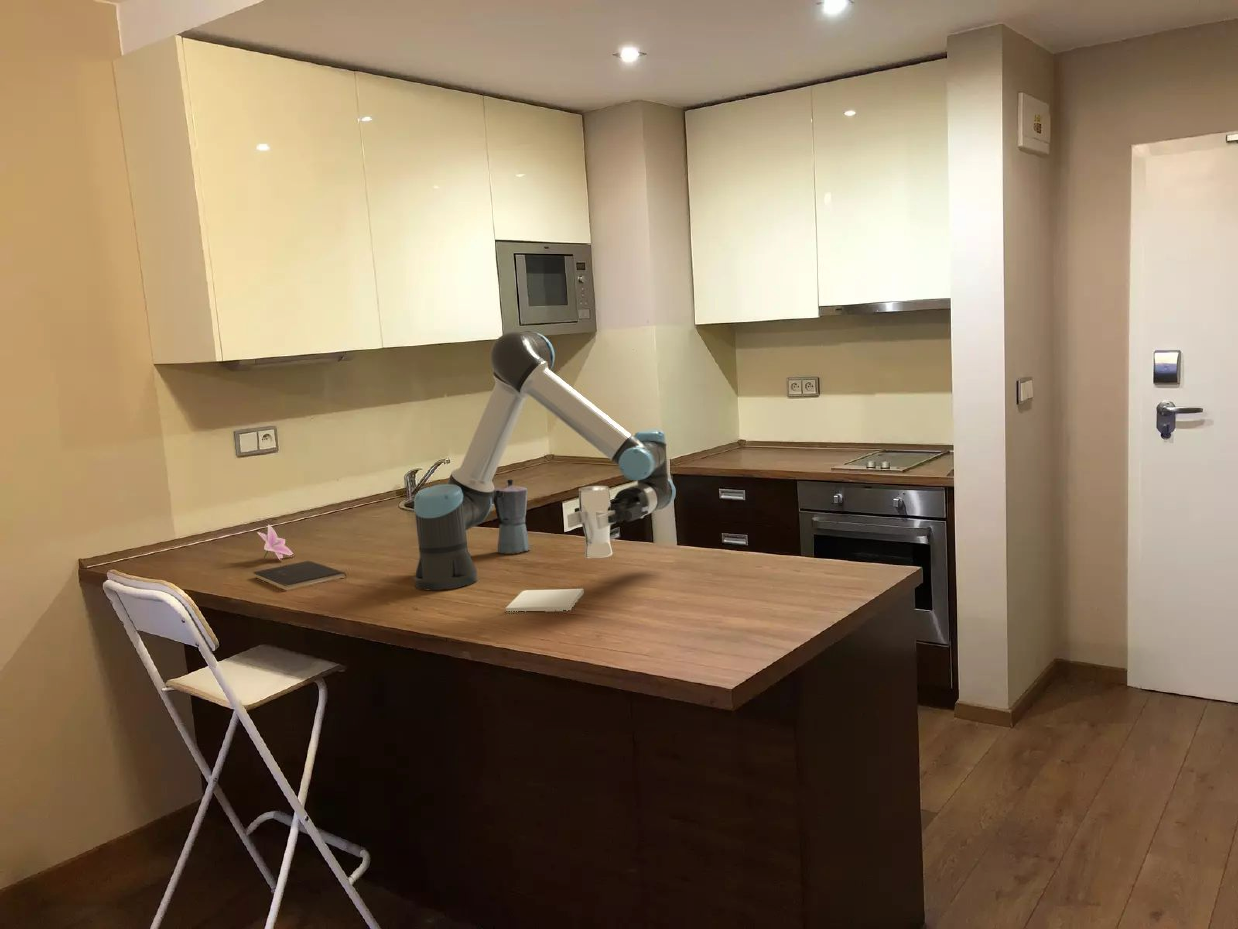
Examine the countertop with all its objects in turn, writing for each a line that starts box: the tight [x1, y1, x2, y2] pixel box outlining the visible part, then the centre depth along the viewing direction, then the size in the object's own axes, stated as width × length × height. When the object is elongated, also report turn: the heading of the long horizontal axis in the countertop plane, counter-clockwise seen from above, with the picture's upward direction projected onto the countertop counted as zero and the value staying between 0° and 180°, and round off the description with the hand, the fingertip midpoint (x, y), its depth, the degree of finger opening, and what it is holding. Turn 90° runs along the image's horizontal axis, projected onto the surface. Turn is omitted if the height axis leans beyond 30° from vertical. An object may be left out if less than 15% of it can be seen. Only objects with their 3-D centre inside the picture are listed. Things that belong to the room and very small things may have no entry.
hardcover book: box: [253, 560, 347, 589], centre depth 257 cm, size 16×23×2 cm
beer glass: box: [578, 485, 613, 560], centre depth 215 cm, size 7×7×15 cm
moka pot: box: [492, 479, 531, 555], centre depth 269 cm, size 10×15×20 cm, turn 161°
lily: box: [257, 524, 294, 560], centre depth 283 cm, size 12×12×10 cm
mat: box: [505, 588, 585, 613], centre depth 215 cm, size 14×14×1 cm
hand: (583, 521), depth 210 cm, fingers closed on beer glass, 7 cm apart
